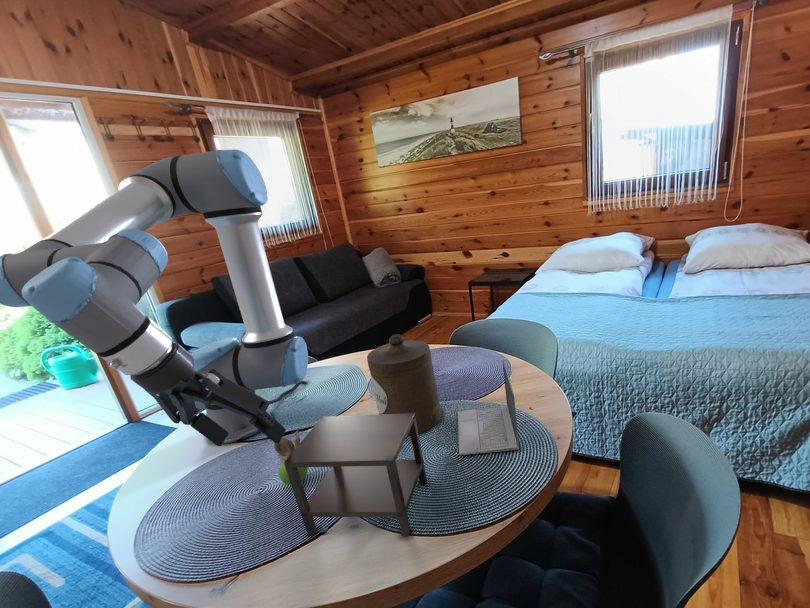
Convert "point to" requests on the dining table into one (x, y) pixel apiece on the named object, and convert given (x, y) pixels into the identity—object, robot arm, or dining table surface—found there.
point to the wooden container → (405, 381)
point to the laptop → (489, 426)
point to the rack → (358, 468)
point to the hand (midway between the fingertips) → (251, 438)
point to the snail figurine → (285, 450)
